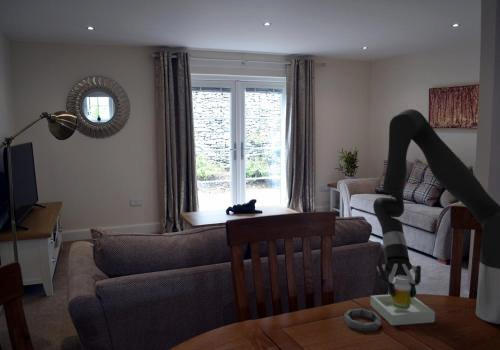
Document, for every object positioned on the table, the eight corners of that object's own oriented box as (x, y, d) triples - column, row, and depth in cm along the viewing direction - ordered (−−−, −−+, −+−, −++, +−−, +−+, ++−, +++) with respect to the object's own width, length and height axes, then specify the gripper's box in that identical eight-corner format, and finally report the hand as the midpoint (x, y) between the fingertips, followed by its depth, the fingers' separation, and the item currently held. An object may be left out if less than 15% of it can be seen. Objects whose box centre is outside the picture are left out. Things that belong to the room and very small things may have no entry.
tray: (408, 302, 135) (409, 293, 135) (434, 322, 121) (435, 312, 121) (370, 304, 133) (370, 295, 132) (391, 325, 119) (392, 315, 119)
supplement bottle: (408, 311, 124) (410, 281, 122) (390, 308, 126) (392, 278, 125) (410, 304, 128) (412, 276, 127) (392, 301, 131) (394, 273, 129)
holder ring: (370, 313, 126) (370, 307, 126) (385, 329, 117) (386, 323, 116) (340, 315, 125) (340, 309, 125) (353, 332, 115) (353, 325, 115)
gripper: (375, 241, 133) (382, 290, 122) (420, 243, 131) (430, 293, 121) (371, 252, 139) (377, 299, 128) (414, 253, 137) (423, 302, 127)
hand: (403, 296), depth 125 cm, fingers closed on supplement bottle, 5 cm apart
